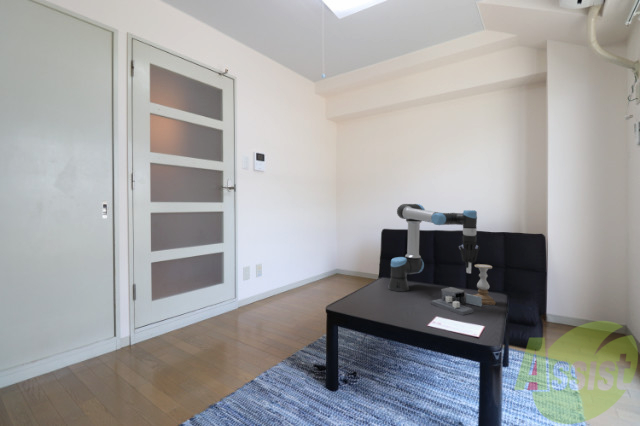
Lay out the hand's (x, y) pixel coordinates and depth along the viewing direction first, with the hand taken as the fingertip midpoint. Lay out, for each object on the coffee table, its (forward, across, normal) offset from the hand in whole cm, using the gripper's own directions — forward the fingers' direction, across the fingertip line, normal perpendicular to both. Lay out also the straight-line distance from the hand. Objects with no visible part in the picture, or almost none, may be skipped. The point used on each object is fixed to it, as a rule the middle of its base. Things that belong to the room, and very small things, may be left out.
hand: (468, 272), depth 178 cm
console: (+21, -12, -3) cm, 24 cm away
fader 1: (+19, -11, +2) cm, 22 cm away
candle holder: (+21, +15, +9) cm, 28 cm away
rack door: (+21, +5, +2) cm, 21 cm away
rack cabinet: (+21, -5, +9) cm, 23 cm away
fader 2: (+19, -12, -8) cm, 23 cm away
